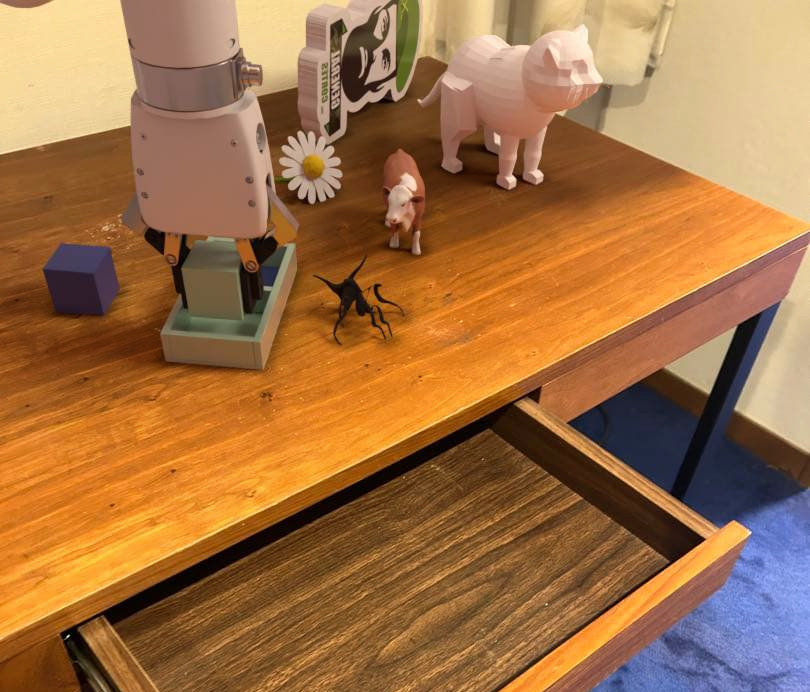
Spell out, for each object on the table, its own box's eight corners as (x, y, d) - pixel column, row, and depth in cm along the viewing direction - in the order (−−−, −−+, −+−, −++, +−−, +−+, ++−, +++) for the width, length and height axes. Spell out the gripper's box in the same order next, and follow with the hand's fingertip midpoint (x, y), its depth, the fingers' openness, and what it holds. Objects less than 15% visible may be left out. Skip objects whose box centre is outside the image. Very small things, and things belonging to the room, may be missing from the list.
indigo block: (55, 314, 79) (41, 268, 75) (73, 287, 82) (60, 242, 78) (104, 318, 79) (93, 273, 75) (120, 291, 82) (110, 246, 78)
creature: (418, 337, 80) (367, 284, 83) (430, 293, 76) (375, 239, 78) (352, 368, 77) (300, 312, 79) (360, 324, 72) (305, 266, 75)
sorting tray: (166, 363, 74) (159, 333, 72) (212, 265, 85) (208, 236, 83) (263, 372, 74) (260, 342, 72) (297, 272, 85) (295, 243, 83)
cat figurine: (385, 149, 104) (388, -7, 92) (442, 125, 110) (452, -25, 97) (549, 223, 93) (578, 57, 81) (603, 193, 99) (638, 33, 86)
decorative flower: (200, 121, 91) (341, 124, 92) (210, 144, 97) (343, 147, 98) (201, 196, 91) (341, 199, 92) (211, 214, 98) (343, 216, 98)
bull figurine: (379, 274, 85) (380, 195, 79) (382, 209, 94) (384, 133, 88) (423, 275, 85) (427, 196, 79) (422, 210, 94) (426, 135, 88)
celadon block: (189, 316, 73) (180, 267, 70) (203, 287, 76) (195, 239, 73) (242, 321, 73) (236, 272, 69) (254, 291, 76) (248, 243, 72)
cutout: (310, 28, 93) (423, -45, 106) (289, 23, 93) (404, -49, 107) (321, 163, 105) (422, 82, 118) (302, 157, 105) (404, 78, 119)
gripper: (316, 66, 63) (325, 287, 76) (90, 50, 64) (139, 272, 77) (298, 107, 58) (311, 335, 71) (53, 89, 58) (112, 319, 72)
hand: (221, 300), depth 74 cm, fingers closed on celadon block, 4 cm apart
